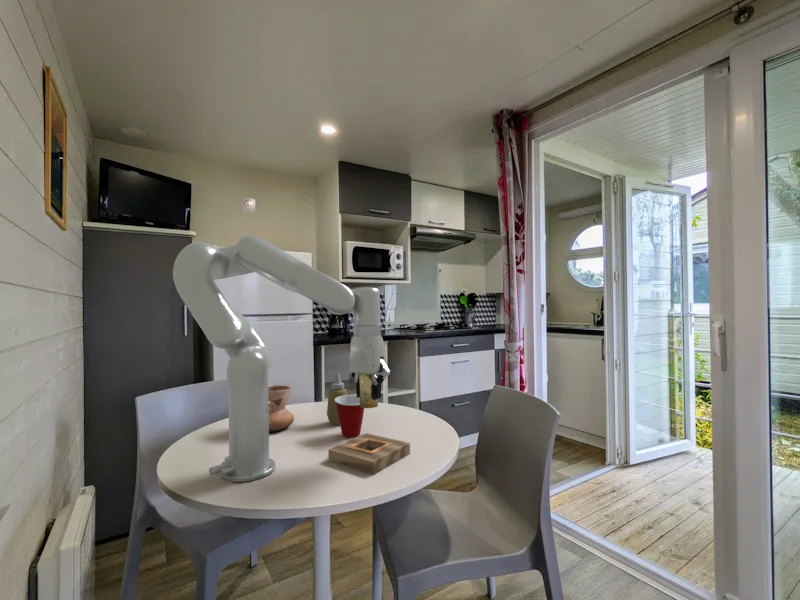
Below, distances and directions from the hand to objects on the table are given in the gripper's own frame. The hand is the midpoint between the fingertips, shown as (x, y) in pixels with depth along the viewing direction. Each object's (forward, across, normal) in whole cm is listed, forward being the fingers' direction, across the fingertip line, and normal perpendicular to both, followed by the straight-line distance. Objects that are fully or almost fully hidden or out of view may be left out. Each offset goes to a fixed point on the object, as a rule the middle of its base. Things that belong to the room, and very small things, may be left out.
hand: (368, 396), depth 103 cm
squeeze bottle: (+17, -31, +18) cm, 39 cm away
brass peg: (+2, 0, 0) cm, 2 cm away
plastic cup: (+17, -18, +11) cm, 27 cm away
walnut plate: (+17, 0, 0) cm, 17 cm away
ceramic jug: (+17, -46, +2) cm, 49 cm away
